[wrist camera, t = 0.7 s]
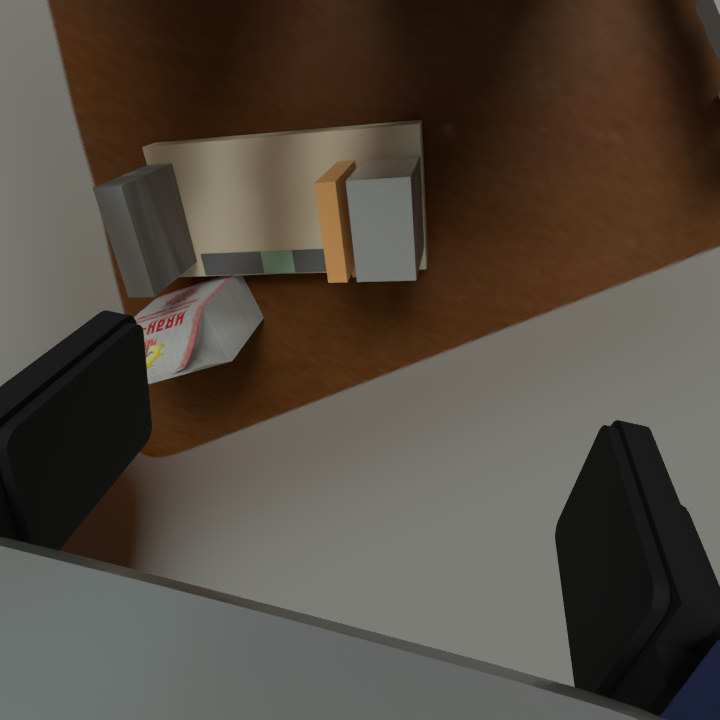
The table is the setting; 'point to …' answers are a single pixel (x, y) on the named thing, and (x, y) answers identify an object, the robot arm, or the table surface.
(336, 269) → the orange rectangular slab
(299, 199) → the board
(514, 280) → the table surface
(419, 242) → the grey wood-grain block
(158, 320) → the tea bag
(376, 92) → the table surface
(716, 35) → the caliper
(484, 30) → the table surface
